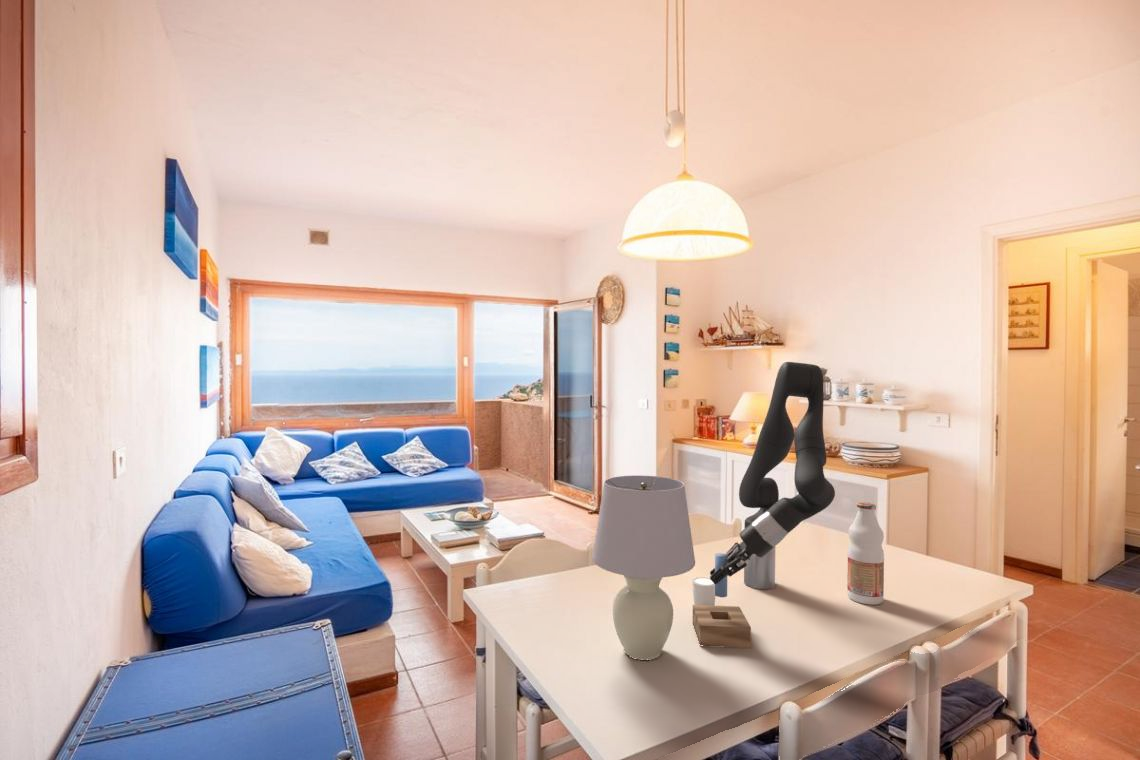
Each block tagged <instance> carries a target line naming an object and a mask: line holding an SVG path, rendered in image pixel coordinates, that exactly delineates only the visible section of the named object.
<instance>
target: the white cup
mask: <svg viewBox="0 0 1140 760" xmlns="http://www.w3.org/2000/svg"><path fill="white" fill-rule="evenodd" d="M691 585H692V586H691V587H692V598H693V605H710V606H716V604H715V603H716V597H717V596H716V595H715V584H714V583H713V582H712V581H711V580H710V577H704V576H703V577H701V576H699V577H694V578H692V579H691Z"/></svg>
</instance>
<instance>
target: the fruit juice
mask: <svg viewBox="0 0 1140 760" xmlns="http://www.w3.org/2000/svg"><path fill="white" fill-rule="evenodd" d="M856 509H857V513H856V515H855V517H854V518H855V519H854V520H853V522H852V524H851V525H850V526H849V528H848V538H849V544H848V546H847V547H848V548H847V584H846V586H847V590H846V591H847V597H848V598H849V599H850V600H852V601H854V602H856V603H860V604H863V605H868V606H869V605H870V606H871V605H872V606H873V605H874V606H877V605H880V604H882V603H883V602H884V599H885V598H884V594H885V593H884V590H885V589H884V588H885V587H884V586H885V585H884V583H885V582H884V581H885V553H884V549H883V542H884V538H885V536H884V531H883V530H882V528H881V526H880V524H879V522H878V519H877V518H878V517H877V516H876V512H875V511H876V509H877V505H876V504H875V503H872V502H865V501H857V503H856Z"/></svg>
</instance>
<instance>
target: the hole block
mask: <svg viewBox="0 0 1140 760" xmlns="http://www.w3.org/2000/svg"><path fill="white" fill-rule="evenodd" d="M693 626H694V627H693ZM692 627H693V629H695V630H694V632H696V633H695V635H697V636H696V639H697V638H698V639H697V642H698V641H699V642H698V644H700V645H703V646H702V647H710V646H724V647H723V648H734V647H737V648H739V649H751V647H752V645H751V644H752V643H751V642H752V640H751V639H752V627H751V625H750V623H749V622H748V619H747V618H746V616H745V614H744V613H743V611H742V608H741V607H740V606H738V605H737V606H736V605H735V606H733V605H731V606H730V605H715V606H710V605H694V604H692ZM700 645H699V646H700Z"/></svg>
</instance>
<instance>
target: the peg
mask: <svg viewBox="0 0 1140 760" xmlns="http://www.w3.org/2000/svg"><path fill="white" fill-rule="evenodd" d="M726 559H727V555H726V553H722V552H720V553H718V552H717V553H715V555H714V568H715V572H716V571H717V570H718V569H719V568H720V567H721V566H722V565H723V564H724V563H725V562H726ZM715 595H716V597H719V598H726V597H728V576H725V577H724V578H723V579H722V580H721V581H720V582H719V583H717V584H715Z"/></svg>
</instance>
